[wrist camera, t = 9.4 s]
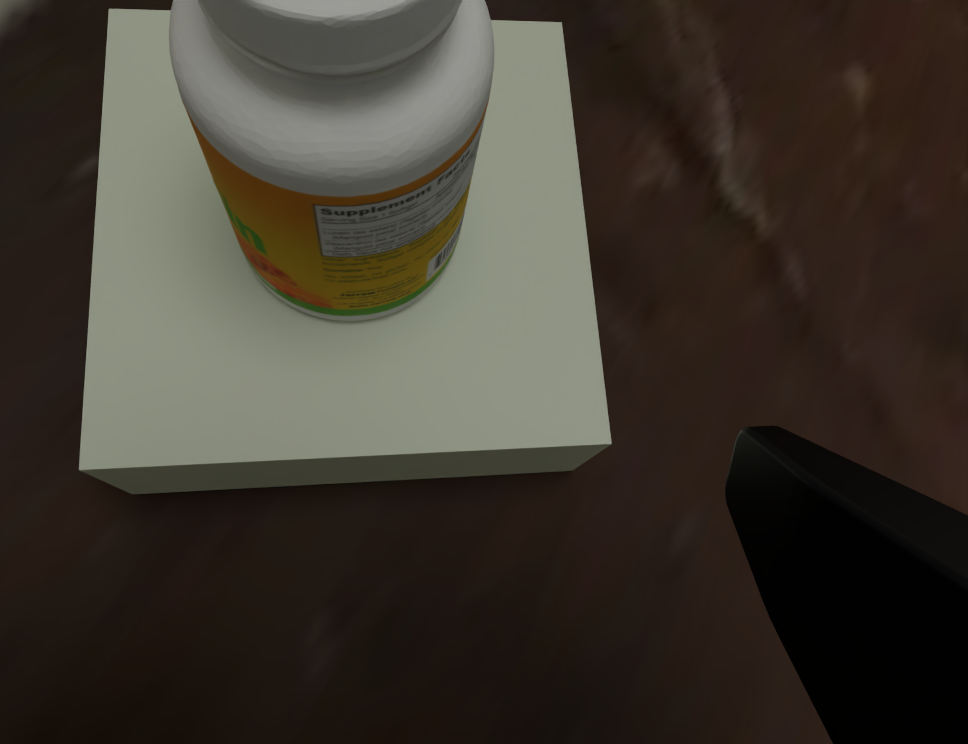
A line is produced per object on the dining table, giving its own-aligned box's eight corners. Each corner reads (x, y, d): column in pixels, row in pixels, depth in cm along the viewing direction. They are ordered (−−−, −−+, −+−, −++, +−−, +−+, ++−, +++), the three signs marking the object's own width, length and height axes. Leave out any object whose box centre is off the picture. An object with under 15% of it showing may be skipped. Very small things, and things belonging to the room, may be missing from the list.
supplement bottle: (212, 158, 20) (63, -233, 11) (417, 107, 21) (447, -287, 12) (275, 355, 19) (170, 110, 9) (489, 290, 20) (585, 13, 10)
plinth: (572, 470, 23) (611, 444, 19) (132, 494, 21) (79, 470, 17) (534, 107, 26) (561, 22, 22) (150, 101, 24) (108, 8, 21)
